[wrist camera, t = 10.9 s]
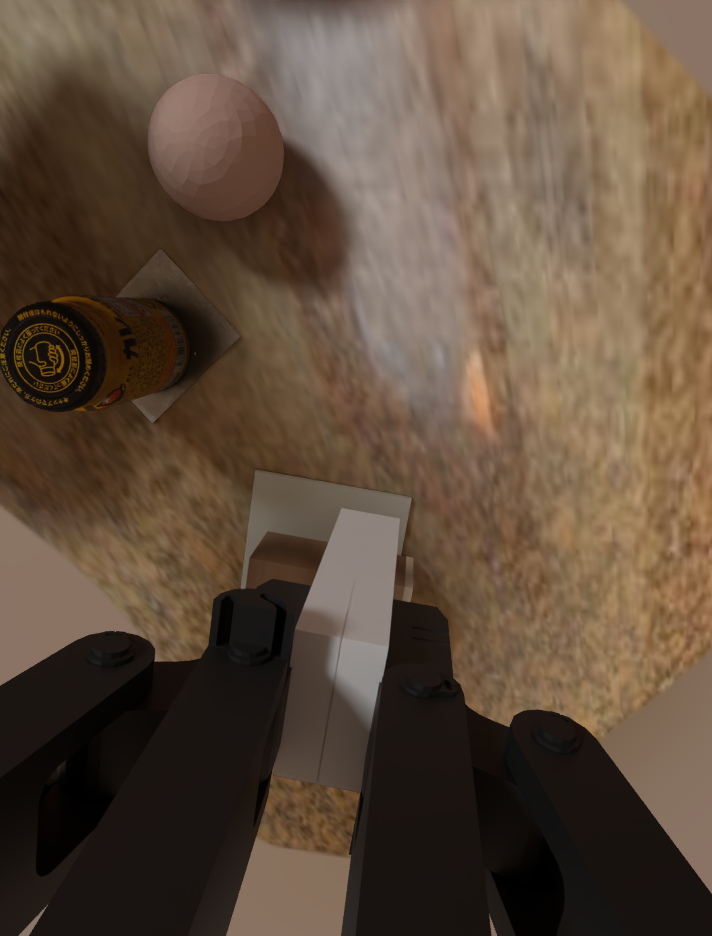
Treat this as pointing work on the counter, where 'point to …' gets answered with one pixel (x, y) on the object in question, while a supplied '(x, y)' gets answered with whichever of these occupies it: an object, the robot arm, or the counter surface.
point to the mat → (312, 509)
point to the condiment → (116, 344)
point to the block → (308, 563)
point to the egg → (215, 147)
